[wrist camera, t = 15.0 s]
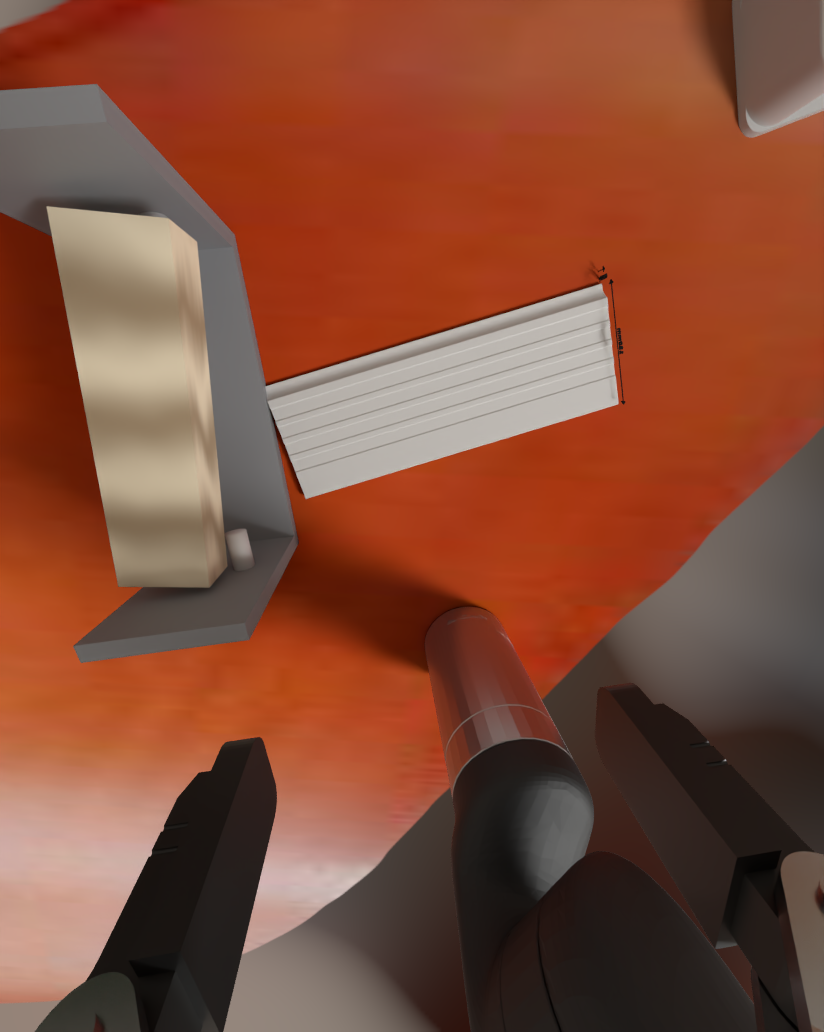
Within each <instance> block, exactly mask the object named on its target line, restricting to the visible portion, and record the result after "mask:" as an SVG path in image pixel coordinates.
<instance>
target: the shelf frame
mask: <svg viewBox="0 0 824 1032" xmlns="http://www.w3.org/2000/svg"><path fill="white" fill-rule="evenodd" d="M46 206H49V207H59V208H69V209H79V210H90V211H100V212H110V213H120V214H130V215H141V216H151V217H161V218H169V219H170V220H171V221H172V222H174V223H175V224H176V225H177V226H179V227H180V228H181V229H182V230H183V231H185V232H186V233H187V234H188V235H189V236H191V237H192V238H193V239H194V240H196V241H197V246H198V257H199V267H200V278H201V289H202V299H203V310H204V321H205V331H206V342H207V353H208V363H209V374H210V385H211V395H212V406H213V417H214V427H215V438H216V449H217V459H218V470H219V481H220V491H221V502H222V513H223V523H224V534H225V545H226V555H227V568H226V569H225V570H224V571H223V572H222V573H221V575H220V576H219V577H218V578H217V579H216V580H215V582H214V583H213V584H212V585H211V586H210V588H205V587H143V588H142V589H140V590H139V591H138V592H137V593H136V594H135V595H133V596H132V597H131V598H130V599H129V600H127V601H126V602H125V603H124V604H123V605H121V606H120V607H119V608H118V609H117V610H116V611H114V612H113V613H112V614H111V615H110V616H108V617H107V618H106V619H105V620H104V621H102V622H101V623H100V624H99V625H98V626H97V627H95V628H94V629H93V630H92V631H91V632H89V633H88V634H87V635H86V636H85V637H83V638H82V639H81V640H80V641H79V642H78V643H76V644H75V645H74V649H75V651H76V653H77V655H78V658H79V660H80V662H81V663H83V662H90V661H98V660H105V659H112V658H120V657H127V656H134V655H142V654H149V653H156V652H164V651H171V650H178V649H186V648H193V647H200V646H207V645H215V644H222V643H229V642H237V641H244V640H249V639H250V637H251V635H252V633H253V631H254V629H255V628H256V626H257V624H258V622H259V620H260V618H261V616H262V614H263V612H264V610H265V608H266V606H267V604H268V602H269V600H270V598H271V596H272V594H273V592H274V590H275V588H276V586H277V585H278V583H279V581H280V579H281V577H282V575H283V573H284V571H285V569H286V567H287V565H288V563H289V561H290V559H291V557H292V555H293V553H294V551H295V549H296V547H297V545H298V544H299V542H298V537H297V532H296V527H295V522H294V518H293V513H292V508H291V503H290V498H289V494H288V489H287V484H286V479H285V474H284V470H283V465H282V460H281V455H280V450H279V446H278V441H277V436H276V431H275V426H274V422H273V417H272V412H271V409H270V407H269V404H268V402H267V392H266V387H265V386H266V383H265V378H264V374H263V369H262V364H261V359H260V354H259V350H258V345H257V340H256V335H255V330H254V326H253V321H252V316H251V311H250V306H249V302H248V297H247V292H246V287H245V282H244V278H243V273H242V268H241V263H240V258H239V254H238V249H237V244H236V239H235V235H234V234H233V232H232V231H231V230H230V229H229V228H228V227H227V226H226V225H225V224H224V223H223V222H222V220H221V219H220V218H219V217H218V216H217V215H216V214H215V213H214V212H213V211H212V210H211V208H210V207H209V206H208V205H207V204H206V203H205V202H204V201H203V200H202V199H201V198H200V196H199V195H198V194H197V193H196V192H195V191H194V190H193V189H192V188H191V187H190V186H189V184H188V183H187V182H186V181H185V180H184V179H183V178H182V177H181V176H180V175H179V174H178V172H177V171H176V170H175V169H174V168H173V167H172V166H171V165H170V164H169V163H168V162H167V160H166V159H165V158H164V157H163V156H162V155H161V154H160V153H159V152H158V151H157V150H156V148H155V147H154V146H153V145H152V144H151V143H150V142H149V141H148V140H147V139H146V138H145V136H144V135H143V134H142V133H141V132H140V131H139V130H138V129H137V128H136V127H135V126H134V124H133V123H132V122H131V121H130V120H129V119H128V118H127V117H126V116H125V115H124V114H123V112H122V111H121V110H120V109H119V108H118V107H117V106H116V105H115V104H114V103H113V102H112V100H111V99H110V98H109V97H108V96H107V95H106V94H105V93H104V92H103V91H102V90H101V88H100V87H99V86H98V85H97V84H92V85H76V86H61V87H46V88H31V89H16V90H1V91H0V212H1V213H4V214H6V215H8V216H10V217H12V218H14V219H16V220H18V221H20V222H23V223H25V224H27V225H29V226H31V227H33V228H35V229H37V230H39V231H42V232H44V233H46V234H48V235H50V236H52V233H51V228H50V223H49V218H48V212H47V207H46Z"/></svg>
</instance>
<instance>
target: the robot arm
mask: <svg viewBox="0 0 824 1032" xmlns="http://www.w3.org/2000/svg"><path fill="white" fill-rule="evenodd" d="M425 653H426V658H427V664H428V669H429V675H430V681H431V686H432V692H433V697H434V702H435V708H436V713H437V719H438V724H439V729H440V735H441V740H442V746H443V751H444V757H445V761H446V766H447V772H448V777H449V783H450V788H451V793H452V798H453V805H454V810H455V826H454V832H453V837H452V847H451V867H452V878H453V886H454V895H455V903H456V912H457V921H458V930H459V938H460V948H461V957H462V965H463V973H464V974H463V975H464V983H465V991H466V999H467V1007H468V1014H469V1021H470V1028H471V1032H824V855H822V854H818V853H815V852H814V851H813V850H812V849H811V848H810V847H809V846H807V844H805V843H804V842H803V841H802V840H801V839H800V837H799V836H798V835H797V834H796V833H795V832H794V831H793V830H792V829H791V828H790V827H789V826H788V825H787V824H786V823H785V822H784V821H783V820H782V818H781V817H780V816H779V815H778V814H777V813H776V812H775V811H774V810H773V809H772V808H771V807H770V806H769V805H768V804H767V803H766V802H765V800H764V799H763V798H762V797H761V796H760V795H759V794H758V793H757V792H756V791H755V790H754V789H753V788H752V787H751V786H750V785H749V783H747V781H746V780H745V779H744V778H743V777H742V776H741V775H740V774H739V773H738V772H737V771H736V770H735V769H734V768H733V767H732V766H731V765H728V764H727V762H726V759H725V758H724V757H723V756H722V755H721V754H720V753H719V752H718V751H717V750H716V749H715V747H714V746H710V744H709V741H708V740H707V739H706V738H705V737H704V736H703V735H702V734H701V733H700V732H699V731H698V729H697V728H696V727H695V726H694V725H693V724H692V723H691V722H690V721H689V720H688V719H686V718H685V717H683V716H682V715H680V714H679V713H677V712H675V711H674V710H672V709H671V708H669V707H668V706H666V705H665V704H656V705H654V704H653V703H652V702H651V701H650V700H649V698H648V697H647V696H646V695H645V694H644V693H643V692H642V691H641V689H640V688H639V687H638V686H636V685H635V684H633V683H627V684H621V685H614V686H608V687H601V688H600V689H599V690H598V694H597V695H598V696H597V710H596V729H595V740H596V745H597V749H598V752H599V755H600V758H601V760H602V762H603V764H604V766H605V768H606V769H607V771H608V773H609V774H610V776H611V778H612V779H613V781H614V782H615V784H616V786H617V787H618V789H619V791H620V792H621V794H622V796H623V797H624V799H625V801H626V802H627V804H628V806H629V807H630V809H631V811H632V812H633V814H634V816H635V817H636V819H637V821H638V822H639V824H640V825H641V827H642V829H643V830H644V832H645V834H646V835H647V837H648V839H649V840H650V842H651V844H652V845H653V847H654V849H655V850H656V852H657V854H658V855H659V857H660V859H661V860H662V862H663V863H664V865H665V867H666V868H667V870H668V872H669V873H670V875H671V877H672V878H673V880H674V882H675V883H676V885H677V887H678V888H679V890H680V891H681V893H682V895H683V897H684V898H685V900H686V902H687V903H688V905H689V906H690V908H691V910H692V911H693V913H694V915H695V916H696V918H697V920H698V921H699V923H700V925H701V926H702V928H703V929H704V931H705V932H706V934H707V936H708V938H709V939H710V941H711V943H712V944H713V946H714V948H715V949H719V948H724V947H729V946H735V945H739V947H740V948H741V950H742V952H743V953H744V955H745V956H746V958H747V959H748V961H749V962H750V964H751V965H752V968H751V983H752V991H753V1000H754V1004H753V1002H752V1001H751V999H750V998H749V996H748V995H747V994H746V992H745V991H744V989H743V988H742V986H741V985H740V984H739V982H738V981H737V979H736V978H735V977H734V975H733V974H732V972H731V971H730V969H729V968H728V967H727V965H726V964H725V963H724V961H723V960H722V959H721V957H720V956H719V955H718V953H717V952H716V951H715V949H714V948H713V947H712V946H711V944H710V943H709V942H708V940H707V939H706V938H705V936H704V935H703V934H702V933H701V931H700V930H699V929H698V928H697V926H696V925H695V924H694V923H693V921H692V920H691V919H690V918H689V917H688V915H687V914H686V913H685V912H684V911H683V910H682V908H681V907H680V906H679V905H678V904H677V903H676V902H675V901H674V900H673V899H672V897H670V895H669V894H668V893H667V892H666V891H665V890H664V889H663V888H662V887H661V886H660V885H659V884H658V883H657V882H655V881H654V880H653V879H652V878H651V877H650V876H649V875H648V874H647V873H645V872H644V871H643V870H642V869H640V868H639V867H638V866H637V865H635V864H634V863H632V862H631V861H628V860H627V859H625V858H623V857H621V856H619V855H616V854H614V853H610V852H606V851H596V852H593V853H589V854H587V855H586V856H584V855H585V852H586V848H587V844H588V842H589V838H590V835H591V831H592V827H593V820H594V808H593V802H592V798H591V795H590V792H589V789H588V787H587V785H586V783H585V781H584V779H583V777H582V775H581V773H580V771H579V769H578V768H577V766H576V764H575V762H574V760H573V758H572V756H571V754H570V752H569V751H568V749H567V747H566V745H565V743H564V741H563V739H562V737H561V736H560V734H559V732H558V730H557V728H556V726H555V725H554V723H553V721H552V719H551V717H550V715H549V713H548V712H547V710H546V708H545V706H544V704H543V702H542V700H541V698H540V696H539V694H538V693H537V691H536V689H535V687H534V685H533V683H532V681H531V679H530V678H529V676H528V674H527V672H526V670H525V668H524V666H523V664H522V662H521V661H520V659H519V657H518V655H517V653H516V651H515V649H514V647H513V645H512V643H511V641H510V640H509V638H508V636H507V634H506V632H505V630H504V628H503V627H502V625H501V623H500V621H499V620H498V619H497V618H496V617H495V616H494V615H493V614H492V613H490V612H488V611H487V610H484V609H481V608H477V607H460V608H456V609H452V610H450V611H448V612H446V613H444V614H443V615H441V616H440V617H438V618H437V619H436V620H435V621H434V622H433V623H432V625H431V626H430V628H429V630H428V632H427V634H426V637H425ZM276 803H277V791H276V784H275V780H274V777H273V773H272V770H271V766H270V763H269V759H268V756H267V752H266V749H265V745H264V742H263V740H262V739H261V738H260V737H257V738H250V739H243V740H237V741H230V742H226V743H225V744H224V745H223V746H222V747H221V749H220V751H219V754H218V756H217V758H216V761H215V763H214V765H213V767H212V770H211V771H207V772H201V773H198V774H197V776H196V777H195V778H194V779H193V780H192V781H191V783H190V784H189V785H188V786H187V787H186V789H185V790H184V791H183V792H182V793H181V794H180V796H179V797H178V798H177V800H176V802H175V804H174V806H173V808H172V810H171V812H170V814H169V817H168V819H167V821H166V823H165V825H164V830H163V832H161V833H160V835H159V837H158V839H157V841H156V843H155V845H154V847H153V849H152V855H151V857H148V859H147V862H146V864H145V866H144V868H143V870H142V872H141V874H140V876H139V878H138V880H137V882H136V884H135V886H134V888H133V890H132V892H131V894H130V896H129V898H128V900H127V902H126V904H125V906H124V909H123V911H122V913H121V915H120V917H119V919H118V921H117V923H116V925H115V927H114V929H113V931H112V933H111V935H110V937H109V939H108V941H107V943H106V945H105V947H104V949H103V951H102V954H101V956H100V958H99V960H98V961H97V963H96V965H95V967H94V969H93V971H92V972H91V974H90V975H89V977H88V978H87V980H86V982H84V983H83V984H81V985H80V986H78V987H77V988H76V989H74V990H73V991H72V992H70V993H69V994H68V995H67V996H66V997H65V998H64V999H63V1000H61V1001H60V1002H59V1004H58V1005H57V1006H56V1007H55V1008H54V1009H53V1010H52V1011H51V1012H50V1013H49V1014H48V1016H47V1017H46V1018H45V1019H44V1020H43V1022H42V1023H41V1024H40V1025H39V1026H38V1028H37V1029H36V1031H35V1032H223V1030H224V1026H225V1022H226V1018H227V1013H228V1009H229V1005H230V1001H231V997H232V993H233V989H234V984H235V980H236V976H237V972H238V968H239V964H240V959H241V955H242V951H243V947H244V943H245V939H246V934H247V930H248V926H249V922H250V918H251V914H252V909H253V905H254V901H255V897H256V893H257V889H258V884H259V880H260V876H261V872H262V868H263V864H264V859H265V855H266V851H267V847H268V843H269V839H270V834H271V830H272V826H273V822H274V818H275V812H276Z"/></svg>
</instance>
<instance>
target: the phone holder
mask: <svg viewBox="0 0 824 1032" xmlns="http://www.w3.org/2000/svg"><path fill="white" fill-rule="evenodd" d="M732 17H733V34H734V52H735V69H736V86H737V103H738V121H739V127H740V130H741V132H742V133H743V134H744V135H745V136H747V137H757V136H759V135H762V134H764V133H767V132H770V131H772V130H775V129H777V128H780V127H783V126H785V125H788V124H790V123H793V122H796V121H798V120H801V119H803V118H806V117H809V116H811V115H814V114H816V113H819V112H822V111H824V0H732Z"/></svg>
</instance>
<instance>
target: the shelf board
mask: <svg viewBox="0 0 824 1032" xmlns="http://www.w3.org/2000/svg"><path fill="white" fill-rule="evenodd" d="M46 207H47V212H48V218H49V223H50V228H51V233H52V239H53V244H54V249H55V255H56V260H57V265H58V270H59V276H60V281H61V286H62V291H63V297H64V302H65V307H66V313H67V318H68V323H69V328H70V334H71V339H72V344H73V350H74V355H75V360H76V365H77V371H78V376H79V381H80V387H81V392H82V397H83V402H84V408H85V413H86V418H87V423H88V429H89V434H90V439H91V445H92V450H93V455H94V460H95V466H96V471H97V476H98V482H99V487H100V492H101V497H102V503H103V508H104V513H105V519H106V524H107V529H108V534H109V540H110V545H111V550H112V555H113V561H114V566H115V571H116V577H117V582H118V587H205V588H210V586H211V585H212V584H213V583H214V582H215V580H216V579H217V578H218V577H219V576H220V575H221V573H222V572H223V571H224V570H225V569H226V568H227V555H226V545H225V534H224V523H223V513H222V502H221V491H220V481H219V470H218V459H217V449H216V438H215V427H214V417H213V406H212V395H211V385H210V374H209V363H208V353H207V342H206V331H205V321H204V310H203V299H202V289H201V278H200V267H199V257H198V246H197V241H196V240H194V239H193V238H192V237H191V236H189V235H188V234H187V233H186V232H185V231H183V230H182V229H181V228H180V227H179V226H177V225H176V224H175V223H174V222H172V221H171V220H170V219H169V218H161V217H151V216H141V215H130V214H120V213H110V212H100V211H90V210H79V209H69V208H59V207H49V206H46Z"/></svg>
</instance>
